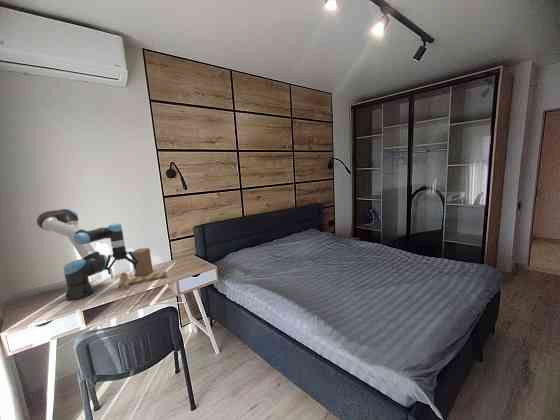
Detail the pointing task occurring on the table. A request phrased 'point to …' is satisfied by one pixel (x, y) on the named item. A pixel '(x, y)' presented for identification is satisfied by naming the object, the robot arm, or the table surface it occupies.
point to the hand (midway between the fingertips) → (123, 276)
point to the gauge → (124, 281)
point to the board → (146, 278)
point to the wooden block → (143, 262)
